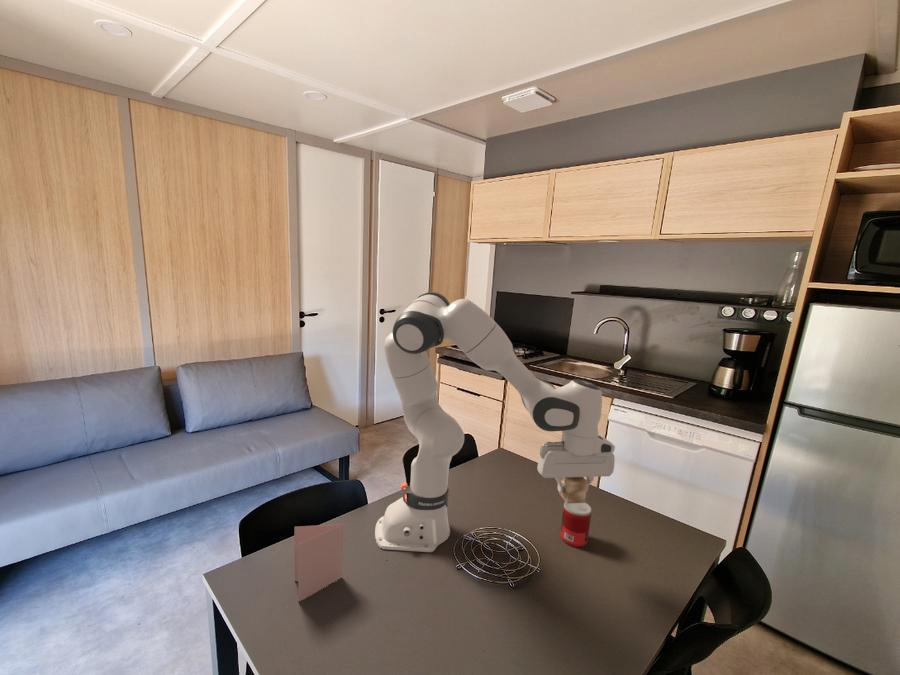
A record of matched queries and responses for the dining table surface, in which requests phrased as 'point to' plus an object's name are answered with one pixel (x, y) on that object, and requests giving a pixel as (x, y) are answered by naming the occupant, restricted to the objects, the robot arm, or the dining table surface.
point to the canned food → (575, 524)
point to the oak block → (574, 490)
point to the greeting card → (317, 557)
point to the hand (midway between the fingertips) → (572, 490)
